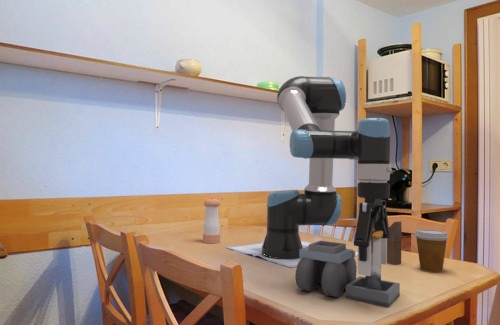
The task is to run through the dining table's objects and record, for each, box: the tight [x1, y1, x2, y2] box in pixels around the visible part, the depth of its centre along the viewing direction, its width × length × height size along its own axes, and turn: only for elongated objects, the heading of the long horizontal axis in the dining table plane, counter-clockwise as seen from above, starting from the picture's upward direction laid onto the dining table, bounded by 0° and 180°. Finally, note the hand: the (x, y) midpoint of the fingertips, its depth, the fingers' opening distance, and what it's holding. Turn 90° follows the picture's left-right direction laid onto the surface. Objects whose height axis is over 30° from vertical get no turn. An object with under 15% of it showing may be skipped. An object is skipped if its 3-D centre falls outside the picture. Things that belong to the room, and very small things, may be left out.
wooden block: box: [373, 220, 402, 266], centre depth 128 cm, size 4×11×18 cm, turn 31°
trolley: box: [295, 240, 358, 298], centre depth 97 cm, size 11×16×12 cm
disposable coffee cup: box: [414, 228, 449, 273], centre depth 117 cm, size 10×10×12 cm
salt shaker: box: [202, 196, 221, 244], centre depth 159 cm, size 7×7×19 cm
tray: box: [345, 275, 401, 308], centre depth 90 cm, size 10×10×3 cm
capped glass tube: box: [364, 229, 383, 291], centre depth 91 cm, size 4×4×15 cm
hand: (373, 269), depth 91 cm, fingers open, 13 cm apart
